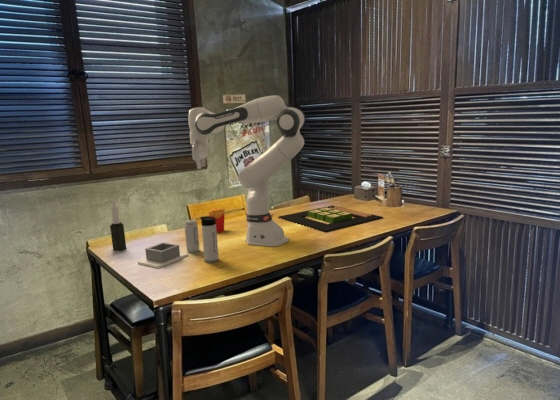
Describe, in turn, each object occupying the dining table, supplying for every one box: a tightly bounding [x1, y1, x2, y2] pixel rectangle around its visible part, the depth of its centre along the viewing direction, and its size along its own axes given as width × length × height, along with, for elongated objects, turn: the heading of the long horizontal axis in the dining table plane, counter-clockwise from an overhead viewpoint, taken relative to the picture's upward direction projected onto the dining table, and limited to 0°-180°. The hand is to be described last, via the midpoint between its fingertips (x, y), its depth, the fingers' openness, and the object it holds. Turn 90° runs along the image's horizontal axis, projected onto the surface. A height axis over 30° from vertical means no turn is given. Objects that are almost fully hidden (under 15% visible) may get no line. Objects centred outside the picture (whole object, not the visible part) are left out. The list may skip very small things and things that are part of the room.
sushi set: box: [277, 205, 384, 233], centre depth 245 cm, size 45×45×4 cm
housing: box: [137, 242, 189, 269], centre depth 182 cm, size 13×18×6 cm
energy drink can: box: [184, 219, 200, 254], centre depth 191 cm, size 6×6×15 cm
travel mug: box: [200, 216, 220, 264], centre depth 177 cm, size 6×7×20 cm
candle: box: [109, 199, 127, 252], centre depth 199 cm, size 5×5×25 cm
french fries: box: [208, 207, 226, 233], centre depth 225 cm, size 9×4×13 cm, turn 117°
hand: (201, 167), depth 205 cm, fingers open, 8 cm apart
